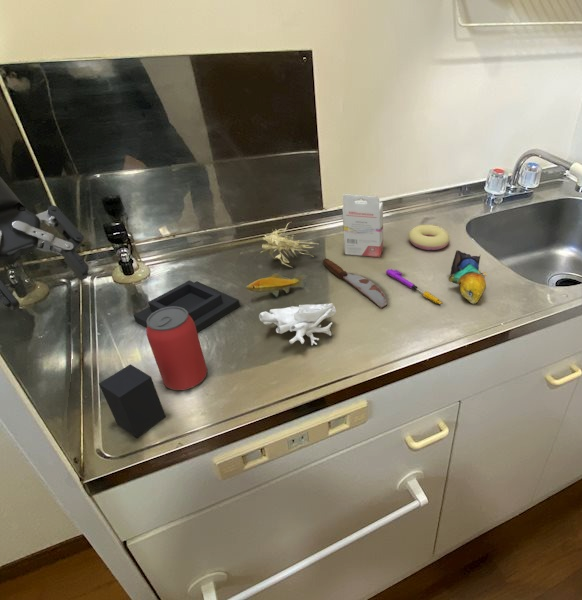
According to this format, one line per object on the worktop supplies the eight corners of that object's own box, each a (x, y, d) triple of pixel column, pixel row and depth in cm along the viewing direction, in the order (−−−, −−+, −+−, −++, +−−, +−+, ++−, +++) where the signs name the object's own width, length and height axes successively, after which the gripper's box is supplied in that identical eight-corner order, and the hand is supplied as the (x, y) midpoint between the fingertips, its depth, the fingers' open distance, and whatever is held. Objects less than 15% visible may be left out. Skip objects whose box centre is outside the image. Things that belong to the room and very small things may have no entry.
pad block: (137, 438, 65) (119, 397, 61) (116, 424, 67) (98, 383, 62) (166, 416, 68) (151, 376, 64) (146, 403, 70) (130, 363, 66)
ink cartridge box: (383, 247, 113) (384, 189, 104) (380, 258, 109) (380, 197, 100) (348, 244, 113) (346, 186, 105) (343, 254, 109) (341, 194, 101)
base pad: (178, 344, 81) (173, 328, 80) (135, 321, 86) (129, 306, 84) (240, 306, 91) (237, 290, 89) (198, 287, 96) (194, 272, 94)
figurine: (482, 307, 94) (487, 280, 90) (444, 301, 95) (447, 275, 91) (485, 278, 103) (489, 252, 99) (450, 273, 104) (453, 248, 100)
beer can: (154, 387, 73) (131, 326, 66) (180, 360, 78) (161, 300, 72) (192, 396, 72) (173, 334, 65) (216, 367, 77) (200, 307, 70)
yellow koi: (247, 301, 91) (247, 279, 89) (244, 296, 92) (244, 273, 90) (307, 293, 97) (309, 272, 95) (303, 288, 99) (305, 267, 96)
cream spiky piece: (324, 271, 108) (333, 233, 106) (272, 273, 96) (281, 230, 93) (292, 254, 114) (299, 218, 111) (239, 255, 102) (246, 214, 99)
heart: (348, 304, 83) (291, 322, 74) (348, 340, 85) (293, 360, 77) (306, 289, 90) (250, 303, 82) (307, 322, 92) (253, 339, 84)
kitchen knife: (399, 298, 94) (379, 304, 91) (398, 305, 95) (378, 312, 92) (340, 253, 107) (321, 257, 104) (339, 260, 108) (320, 264, 105)
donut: (422, 239, 122) (401, 247, 115) (422, 221, 120) (400, 228, 113) (456, 245, 116) (435, 254, 109) (456, 226, 114) (436, 234, 107)
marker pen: (384, 273, 102) (438, 306, 93) (385, 268, 102) (440, 301, 93) (393, 272, 104) (447, 304, 95) (394, 267, 104) (448, 299, 94)
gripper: (-108, 191, 52) (-9, 308, 54) (30, 157, 62) (110, 257, 64) (-100, 222, 58) (-10, 328, 59) (26, 187, 68) (100, 278, 69)
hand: (52, 291), depth 62 cm, fingers open, 8 cm apart
